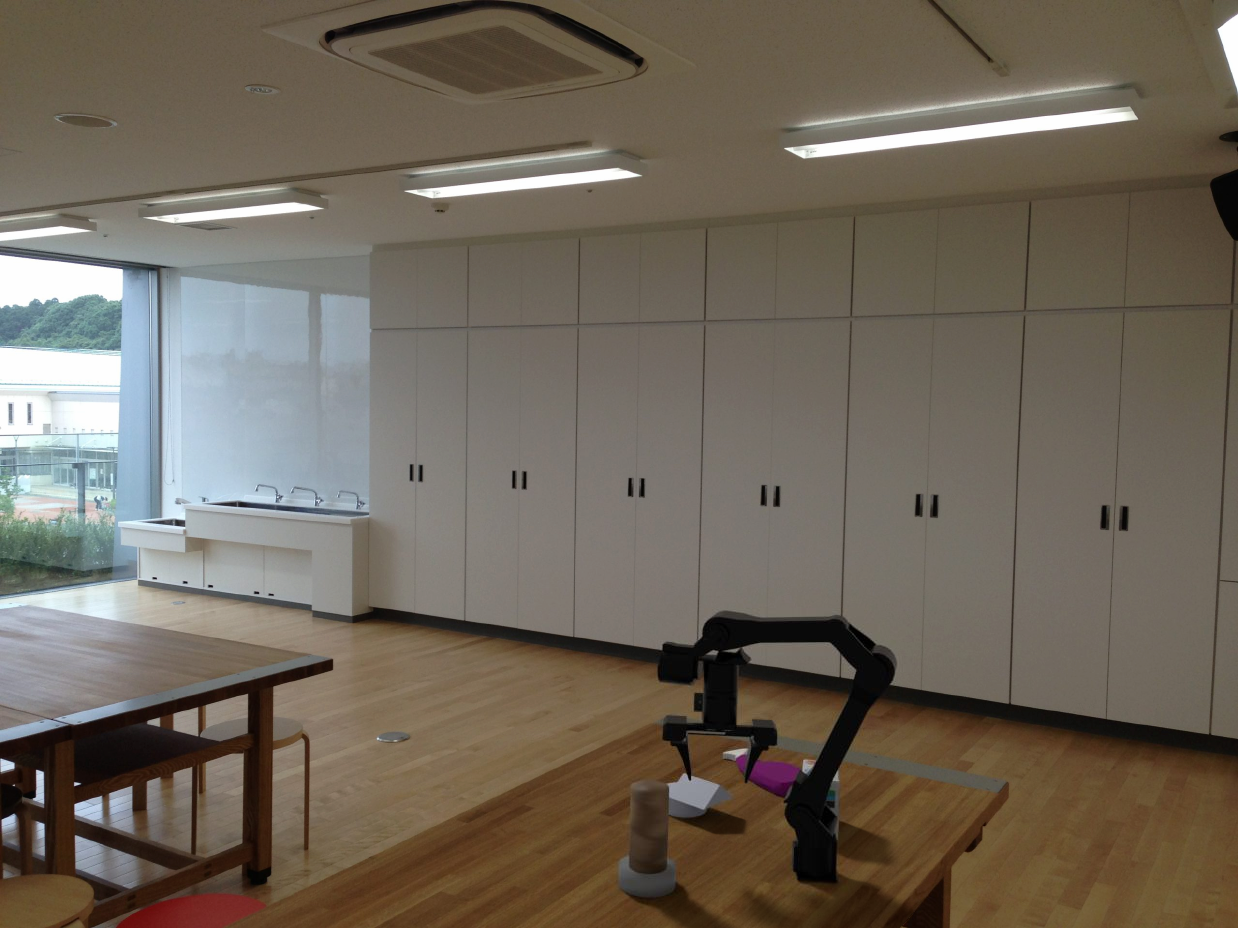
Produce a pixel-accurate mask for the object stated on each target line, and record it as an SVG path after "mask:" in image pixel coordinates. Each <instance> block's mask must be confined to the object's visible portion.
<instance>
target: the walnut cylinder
mask: <svg viewBox="0 0 1238 928" xmlns="http://www.w3.org/2000/svg"><path fill="white" fill-rule="evenodd" d="M667 784H668V783H665V782H662V781H658V780H650V779H648V780H647V779H646V780H645V779H643V780H638V781H635V782H633V783H631V785H630V804H629V805H630V808H629V843H628V844H629V845H628V849H629V850H628V856H629V867H630V868H631V869H632V870H633V871H635V872H638V873H642V874H657V873H660V872H663V871H665V870H666V868H667V858H668V849H669V847H668V845H669V816H670V815H669V786H668V785H667Z"/></svg>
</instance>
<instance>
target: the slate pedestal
mask: <svg viewBox="0 0 1238 928" xmlns="http://www.w3.org/2000/svg"><path fill="white" fill-rule="evenodd" d="M676 881H677V864H676V863H675V861H674V860H672V859H671V858H669V857H667V868H666V870H665V871H663V872H660V873H657V874H642V873H638V872H635V871H633V870H632V869H631V868H630V867H629V855H627V856H625V857H622V858H621V859H620V860H619V862H618V881H617V885H618V887H619V890H621V891H623V892H624V893H626V894H629V895H631V896H634V897H639V898H649V899H651V898H652V899H653V898H660V897H664V896H667V895H669V894H671V893H673V892H674V891H675V889H676V885H677V884H676V883H677V882H676Z"/></svg>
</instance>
